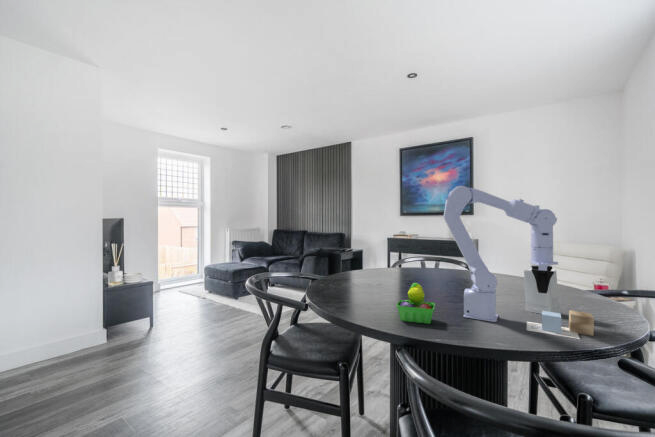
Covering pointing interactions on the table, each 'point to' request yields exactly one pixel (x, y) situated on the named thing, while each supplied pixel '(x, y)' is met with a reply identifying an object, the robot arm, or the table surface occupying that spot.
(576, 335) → the letter
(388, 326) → the table surface
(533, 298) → the skincare box
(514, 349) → the table surface
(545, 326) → the blue cube
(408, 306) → the fruit basket
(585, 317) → the oak block
